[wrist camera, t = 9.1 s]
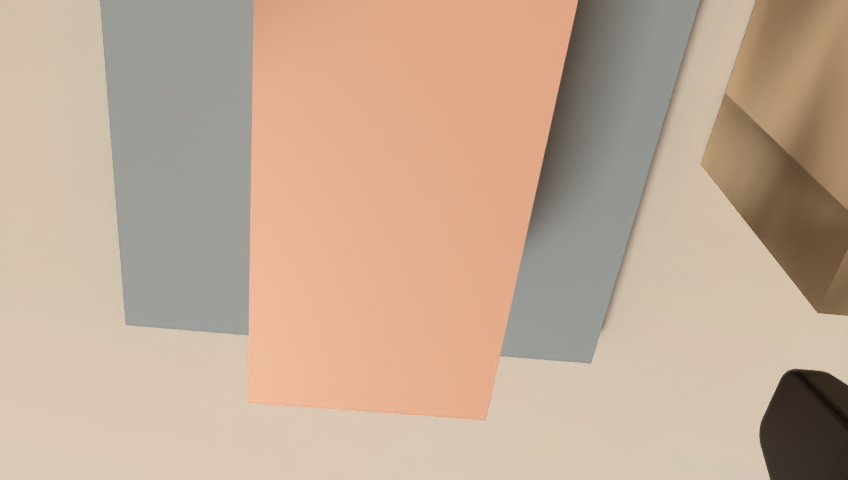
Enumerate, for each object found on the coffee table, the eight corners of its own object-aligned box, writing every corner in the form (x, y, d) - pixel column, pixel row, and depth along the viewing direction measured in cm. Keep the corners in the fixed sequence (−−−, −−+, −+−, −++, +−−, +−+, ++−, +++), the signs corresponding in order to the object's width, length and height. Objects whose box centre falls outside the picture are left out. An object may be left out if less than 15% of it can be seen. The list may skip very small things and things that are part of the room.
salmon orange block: (469, 301, 16) (485, 420, 13) (275, 285, 16) (248, 402, 13) (560, -187, 12) (616, -174, 9) (293, -225, 11) (257, -226, 8)
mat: (585, 346, 18) (590, 363, 17) (133, 308, 17) (125, 325, 16) (726, -137, 13) (740, -133, 12) (95, -228, 12) (82, -229, 11)
